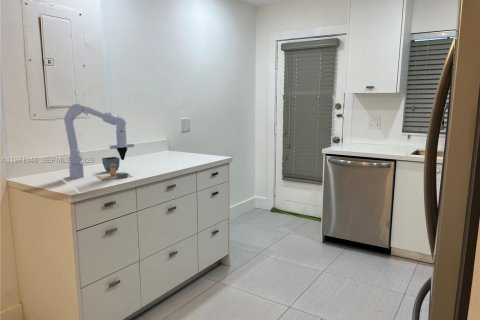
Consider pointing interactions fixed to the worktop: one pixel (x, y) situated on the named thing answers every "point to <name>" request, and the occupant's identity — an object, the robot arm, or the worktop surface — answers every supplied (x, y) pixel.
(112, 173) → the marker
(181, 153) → the worktop surface
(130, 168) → the worktop surface
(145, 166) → the worktop surface
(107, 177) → the clipboard
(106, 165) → the flower pot
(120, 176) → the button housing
